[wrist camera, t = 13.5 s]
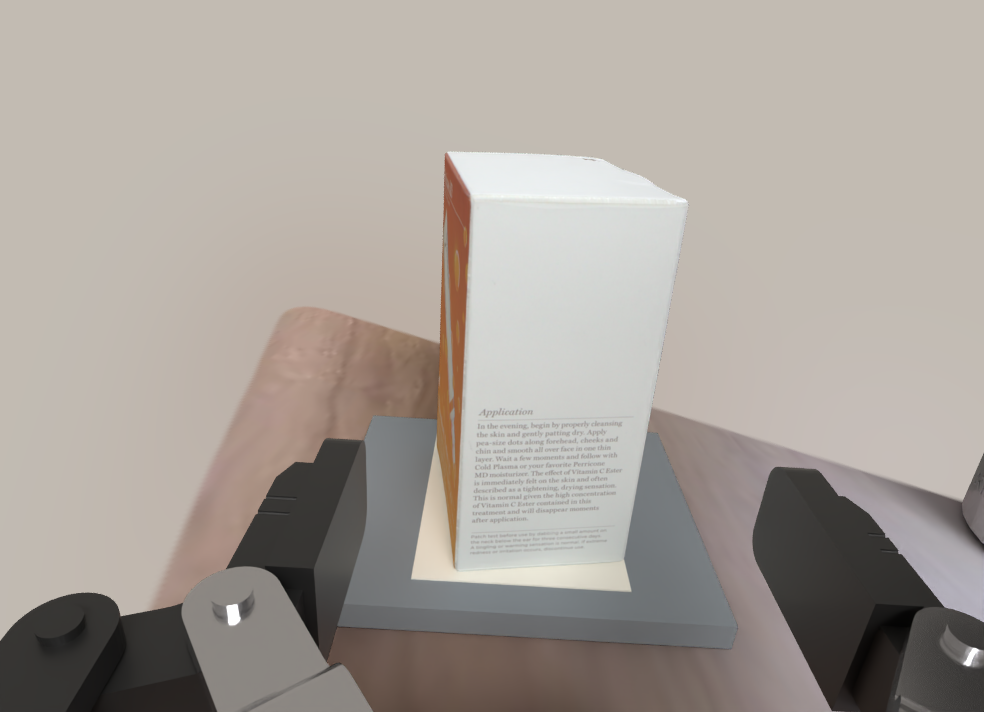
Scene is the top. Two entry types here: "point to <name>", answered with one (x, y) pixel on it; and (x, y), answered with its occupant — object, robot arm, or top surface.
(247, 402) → the top surface
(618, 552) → the small box
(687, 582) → the base board
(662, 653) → the top surface
